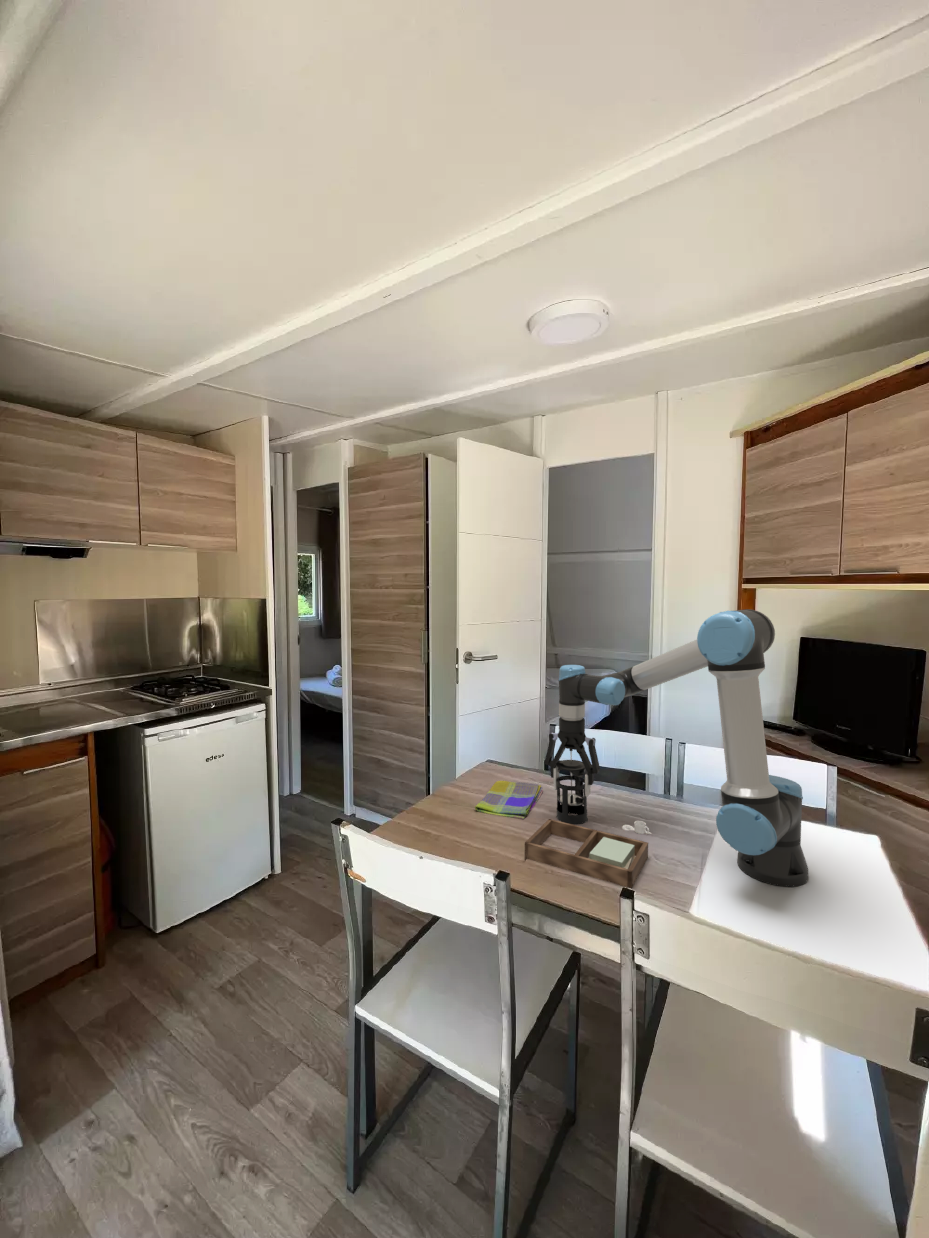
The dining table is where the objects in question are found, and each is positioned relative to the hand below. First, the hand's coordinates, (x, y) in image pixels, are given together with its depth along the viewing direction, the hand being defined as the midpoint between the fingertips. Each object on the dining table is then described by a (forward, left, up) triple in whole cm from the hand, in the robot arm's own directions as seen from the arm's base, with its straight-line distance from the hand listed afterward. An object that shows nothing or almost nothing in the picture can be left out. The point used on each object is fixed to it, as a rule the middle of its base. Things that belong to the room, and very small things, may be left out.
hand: (571, 791), depth 158 cm
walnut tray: (-11, +20, -9) cm, 25 cm away
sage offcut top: (-18, +21, -6) cm, 28 cm away
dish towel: (+23, -4, -10) cm, 25 cm away
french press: (0, 0, -9) cm, 9 cm away
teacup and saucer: (-19, -4, -10) cm, 22 cm away
